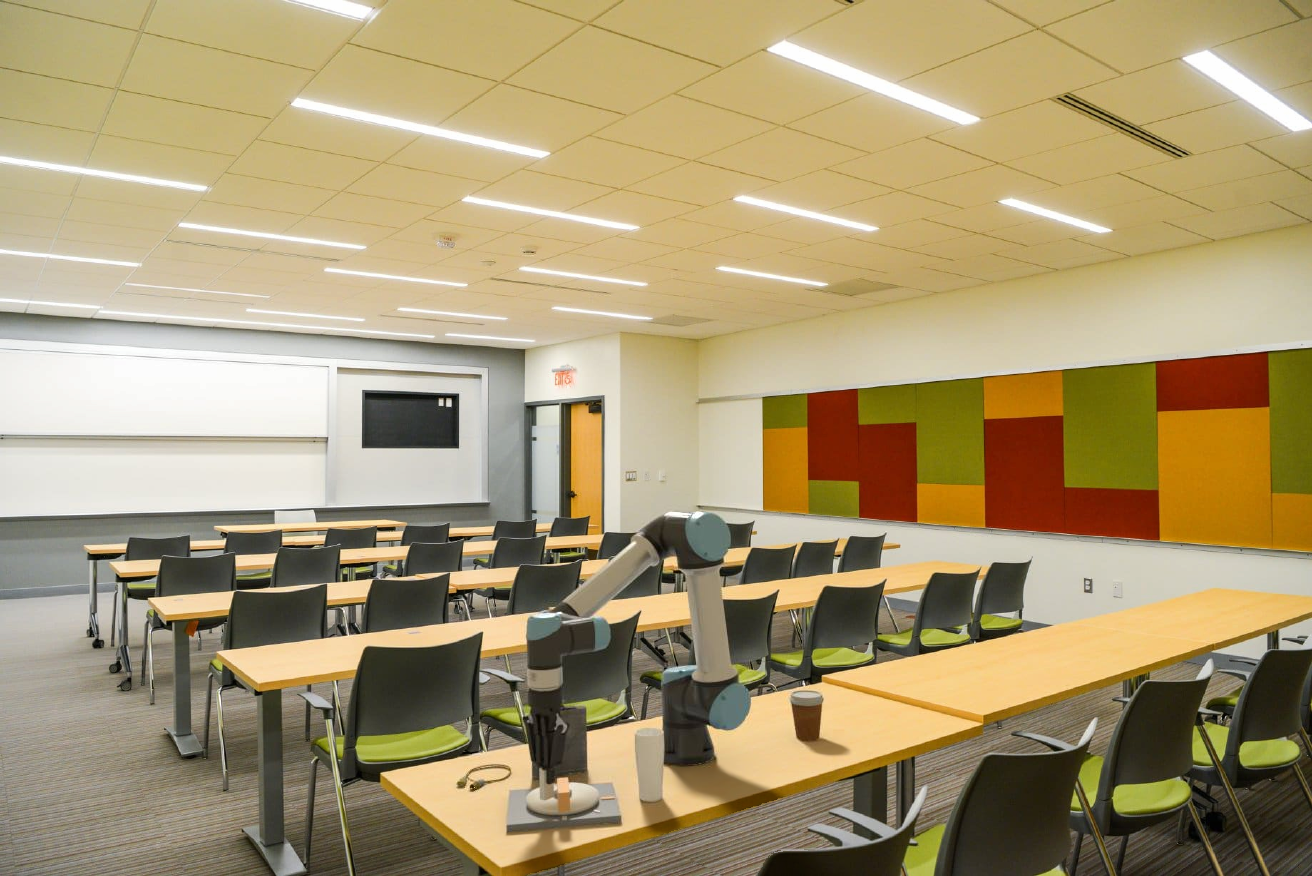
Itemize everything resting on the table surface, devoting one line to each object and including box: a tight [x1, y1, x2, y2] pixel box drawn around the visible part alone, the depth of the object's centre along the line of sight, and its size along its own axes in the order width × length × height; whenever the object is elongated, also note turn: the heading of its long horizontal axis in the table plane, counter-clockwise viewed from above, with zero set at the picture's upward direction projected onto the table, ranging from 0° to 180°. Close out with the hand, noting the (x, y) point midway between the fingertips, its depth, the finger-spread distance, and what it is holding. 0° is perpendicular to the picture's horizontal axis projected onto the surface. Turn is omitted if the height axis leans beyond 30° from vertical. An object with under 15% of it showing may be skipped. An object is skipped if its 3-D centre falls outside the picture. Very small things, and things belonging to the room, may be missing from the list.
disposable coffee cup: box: [788, 689, 825, 742], centre depth 233 cm, size 10×10×12 cm
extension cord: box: [456, 763, 512, 791], centre depth 208 cm, size 12×16×2 cm
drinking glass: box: [634, 727, 665, 803], centre depth 192 cm, size 7×7×15 cm
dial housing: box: [506, 781, 622, 833], centre depth 187 cm, size 24×20×2 cm
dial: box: [526, 777, 599, 815], centre depth 186 cm, size 18×16×5 cm
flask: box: [531, 699, 589, 781], centre depth 210 cm, size 4×14×18 cm, turn 116°
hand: (546, 798), depth 180 cm, fingers closed
